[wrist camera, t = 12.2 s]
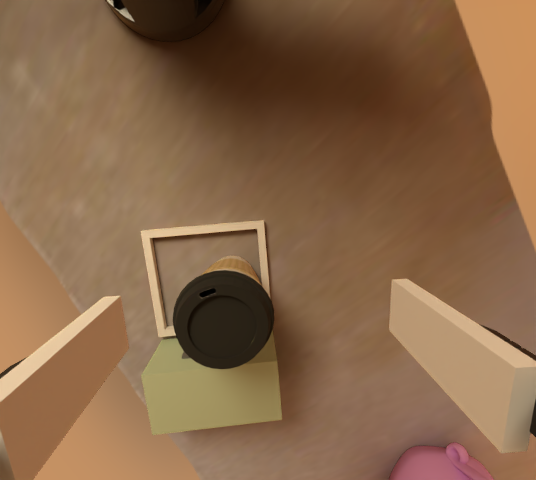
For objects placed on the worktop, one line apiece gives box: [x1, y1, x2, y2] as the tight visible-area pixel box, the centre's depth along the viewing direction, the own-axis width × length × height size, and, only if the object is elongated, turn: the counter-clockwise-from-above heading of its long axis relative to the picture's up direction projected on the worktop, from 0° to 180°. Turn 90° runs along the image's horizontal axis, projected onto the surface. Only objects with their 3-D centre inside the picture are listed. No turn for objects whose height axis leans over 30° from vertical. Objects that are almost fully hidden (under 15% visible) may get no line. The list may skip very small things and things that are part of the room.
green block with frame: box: [141, 220, 282, 435], centre depth 37 cm, size 25×16×8 cm, turn 5°
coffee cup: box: [173, 256, 274, 369], centre depth 33 cm, size 10×10×15 cm
